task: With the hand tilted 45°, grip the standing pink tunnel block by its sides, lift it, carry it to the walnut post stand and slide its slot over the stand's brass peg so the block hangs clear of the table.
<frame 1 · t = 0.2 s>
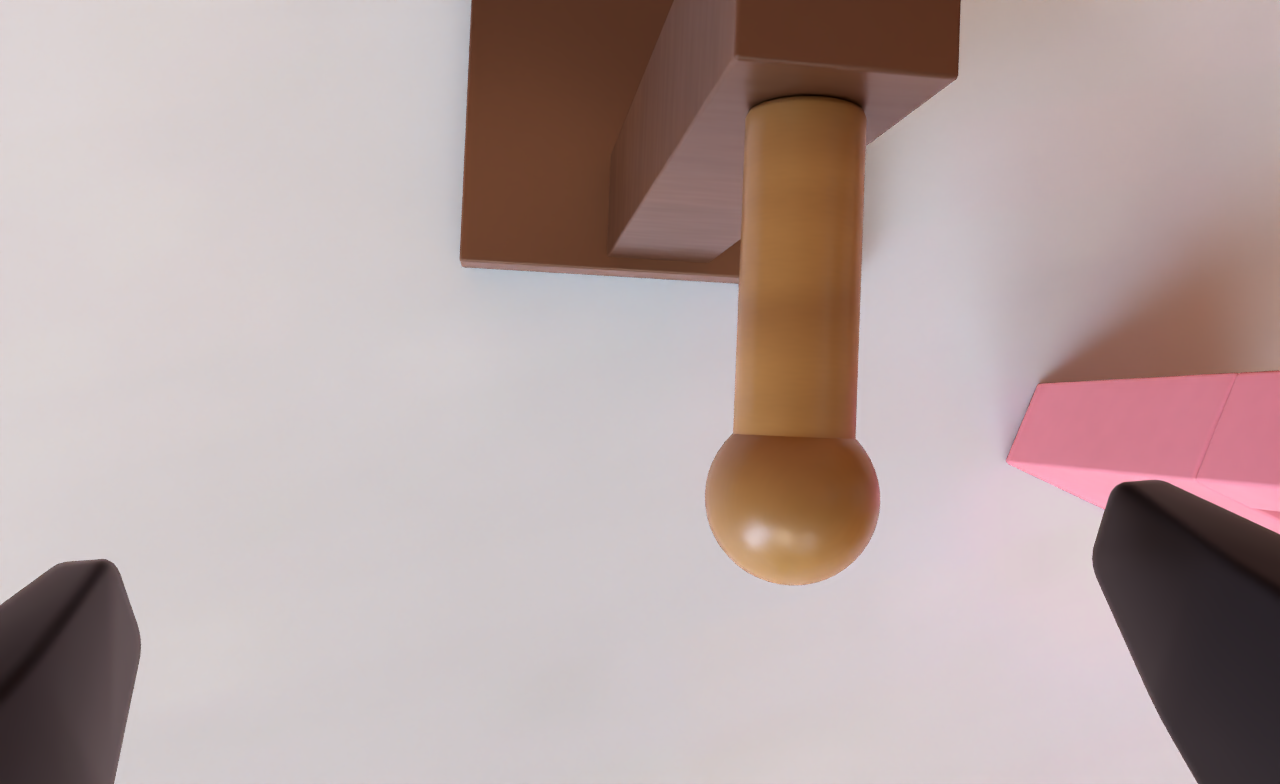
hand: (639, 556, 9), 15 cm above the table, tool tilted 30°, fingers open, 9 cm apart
pink tunnel block: (1128, 474, 26), on the table
stand: (654, 216, 24), on the table
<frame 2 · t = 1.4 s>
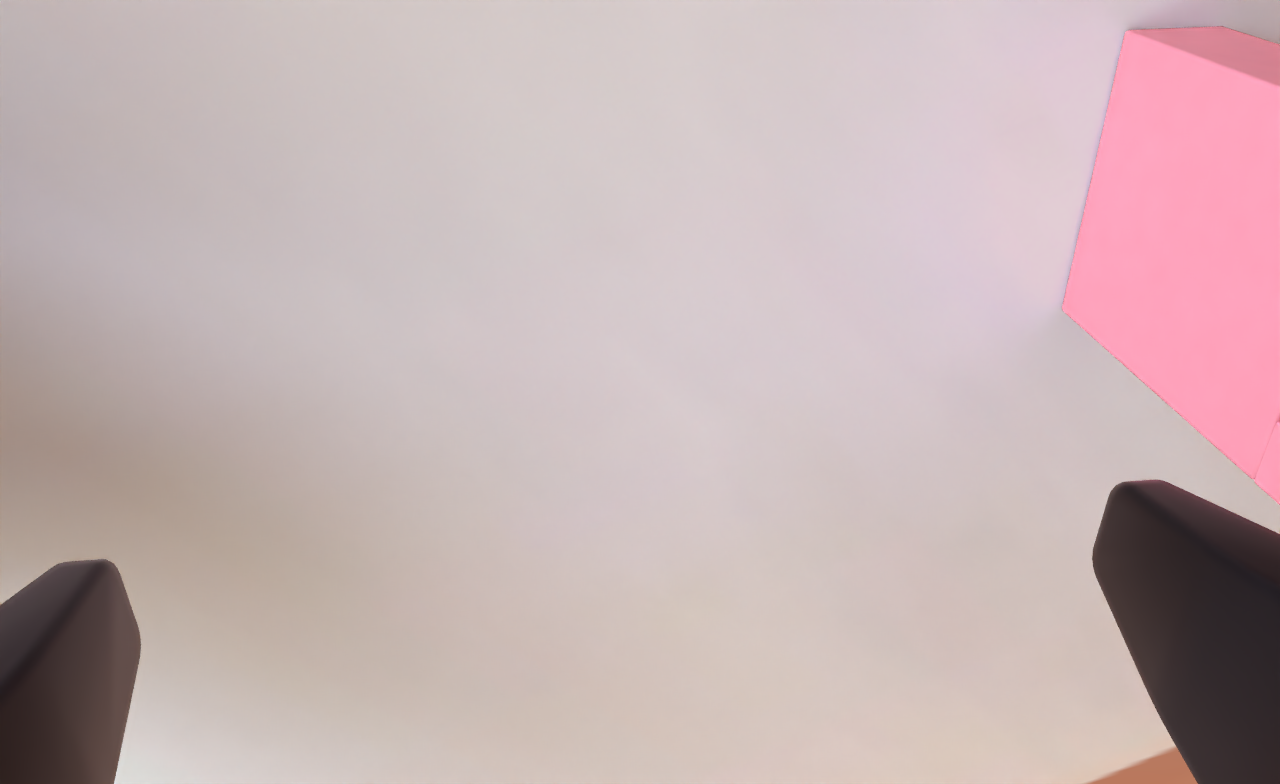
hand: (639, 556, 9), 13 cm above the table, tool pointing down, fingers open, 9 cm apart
pink tunnel block: (1136, 177, 23), on the table
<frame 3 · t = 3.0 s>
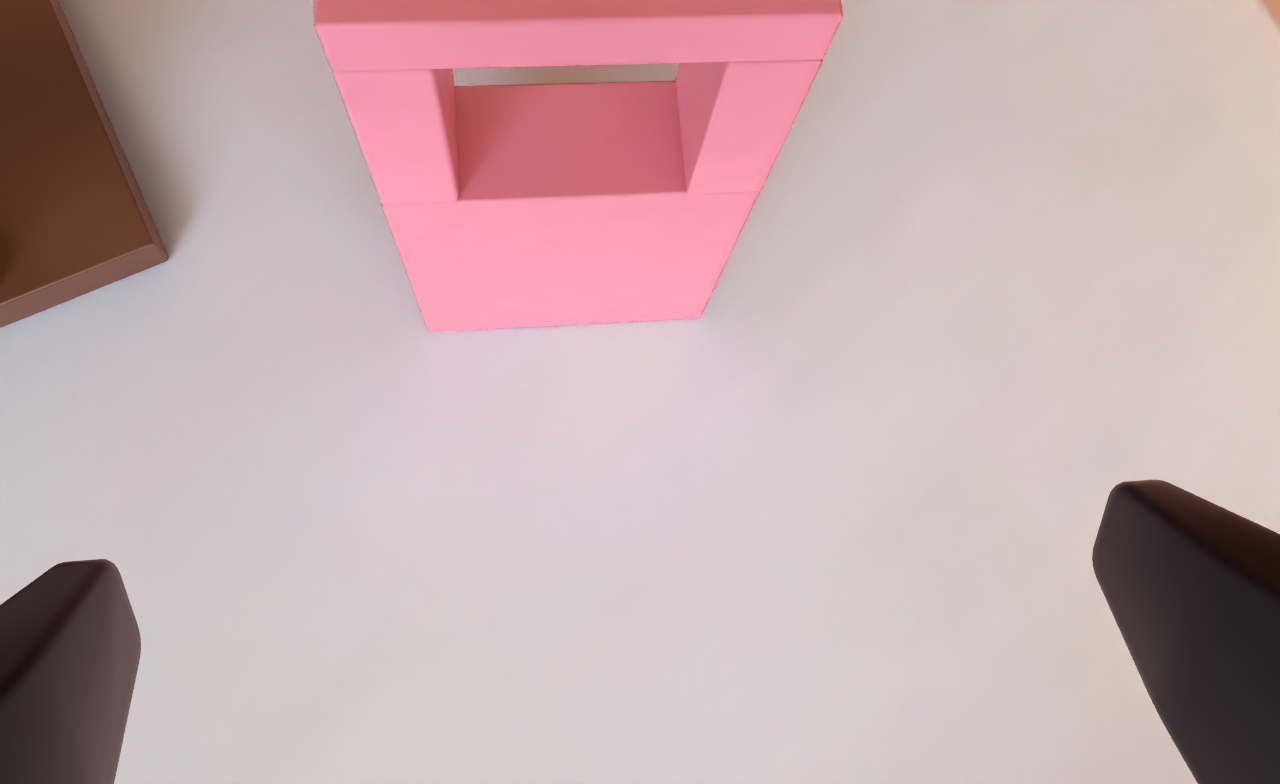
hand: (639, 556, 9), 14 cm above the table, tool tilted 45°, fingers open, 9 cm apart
pink tunnel block: (563, 281, 24), on the table
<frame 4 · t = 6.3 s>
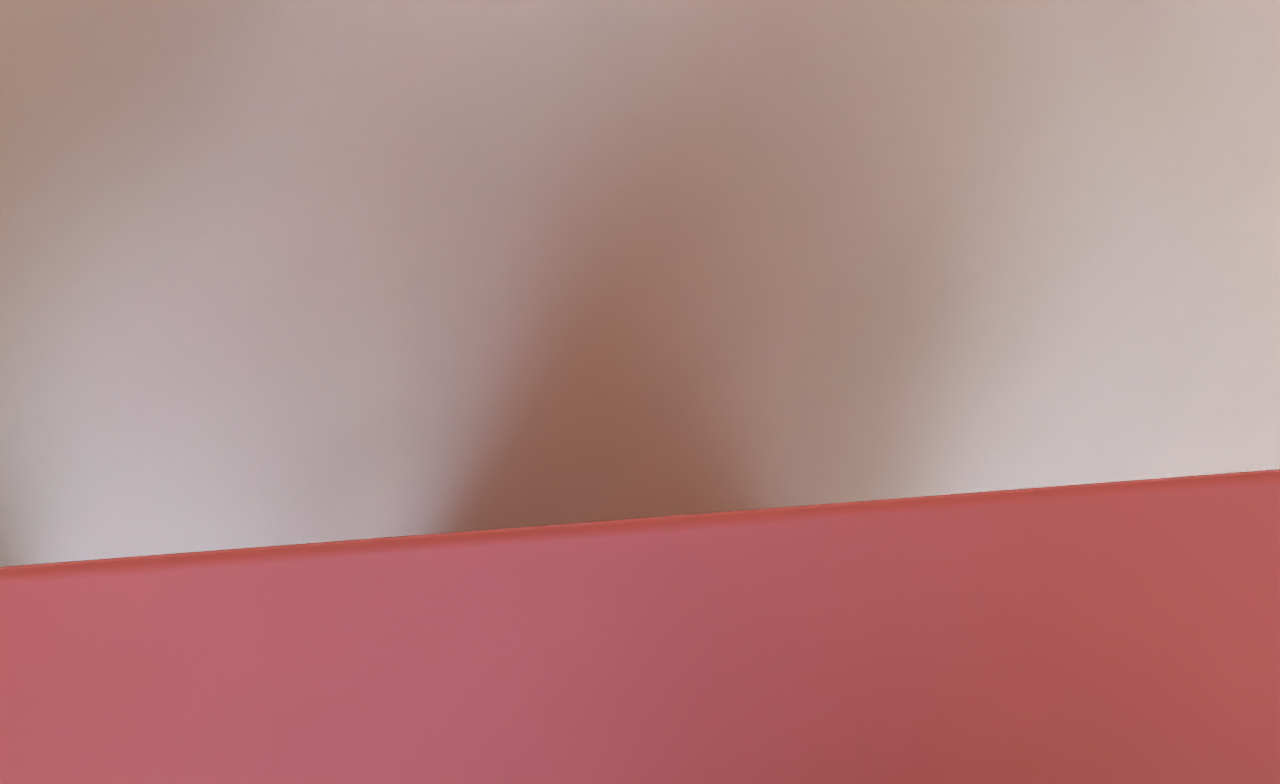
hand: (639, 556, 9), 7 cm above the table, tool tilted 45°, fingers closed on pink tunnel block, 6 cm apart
pink tunnel block: (606, 688, 15), on the table, touching gripper
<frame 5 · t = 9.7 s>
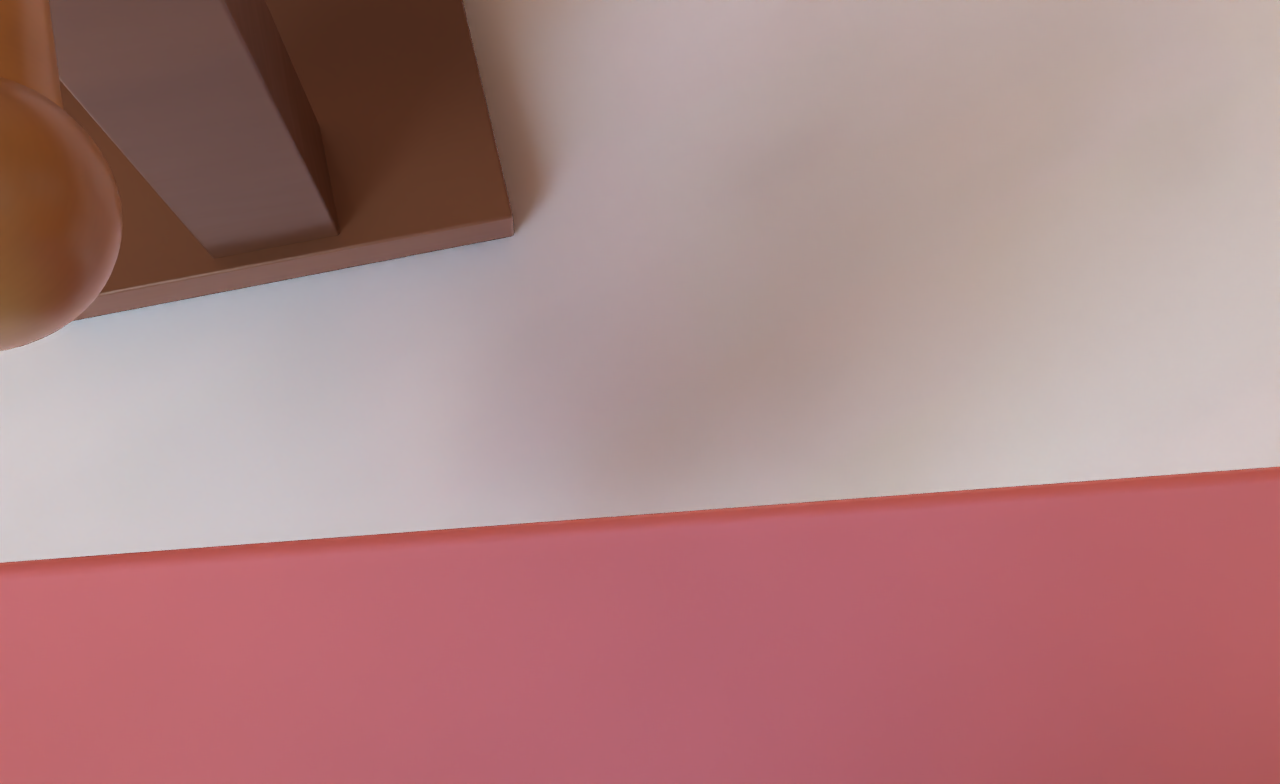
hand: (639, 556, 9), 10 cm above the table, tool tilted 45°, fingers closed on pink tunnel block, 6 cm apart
pink tunnel block: (607, 687, 15), point 4 cm above the table, touching gripper
stand: (279, 211, 20), on the table
when the fingers open (9 cm above the table, at t = 13.2 s): pink tunnel block stays where it is, resting on stand.
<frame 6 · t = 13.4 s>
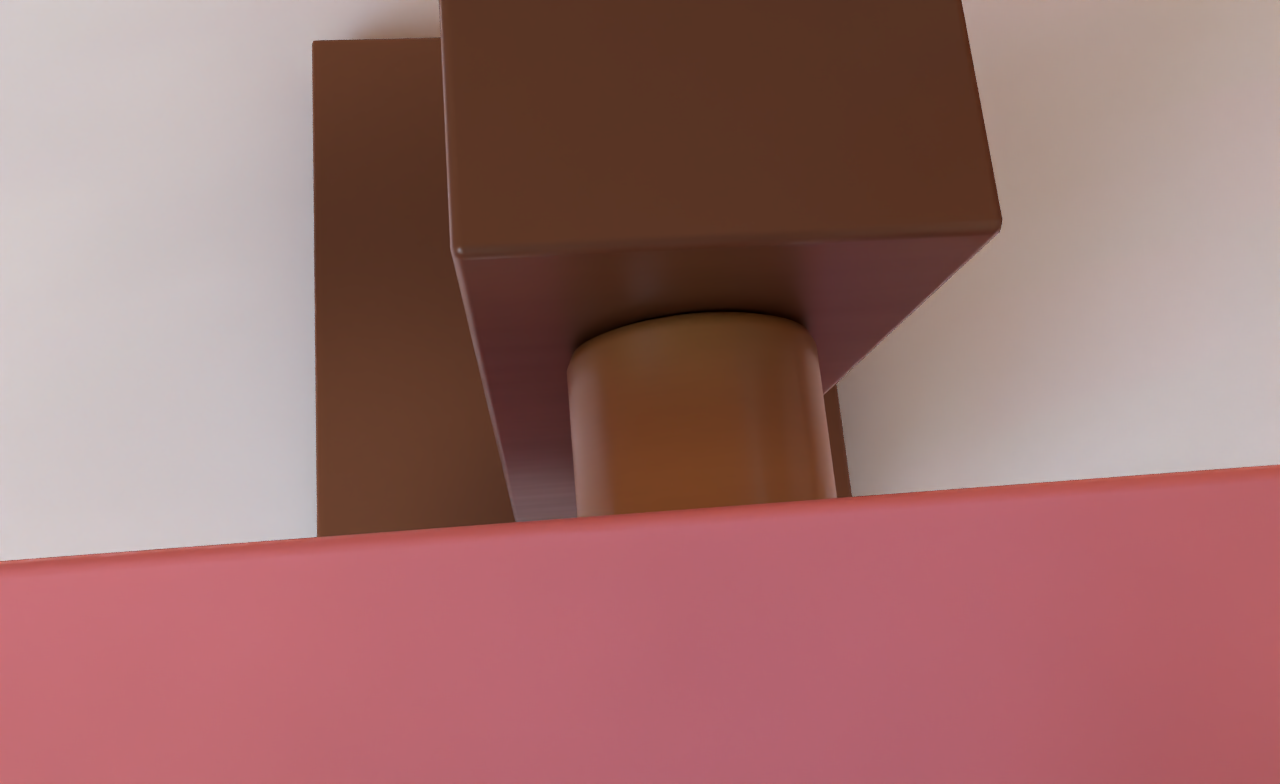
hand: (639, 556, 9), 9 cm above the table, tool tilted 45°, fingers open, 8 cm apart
pink tunnel block: (610, 688, 15), point 2 cm above the table, touching stand
stand: (587, 486, 18), on the table
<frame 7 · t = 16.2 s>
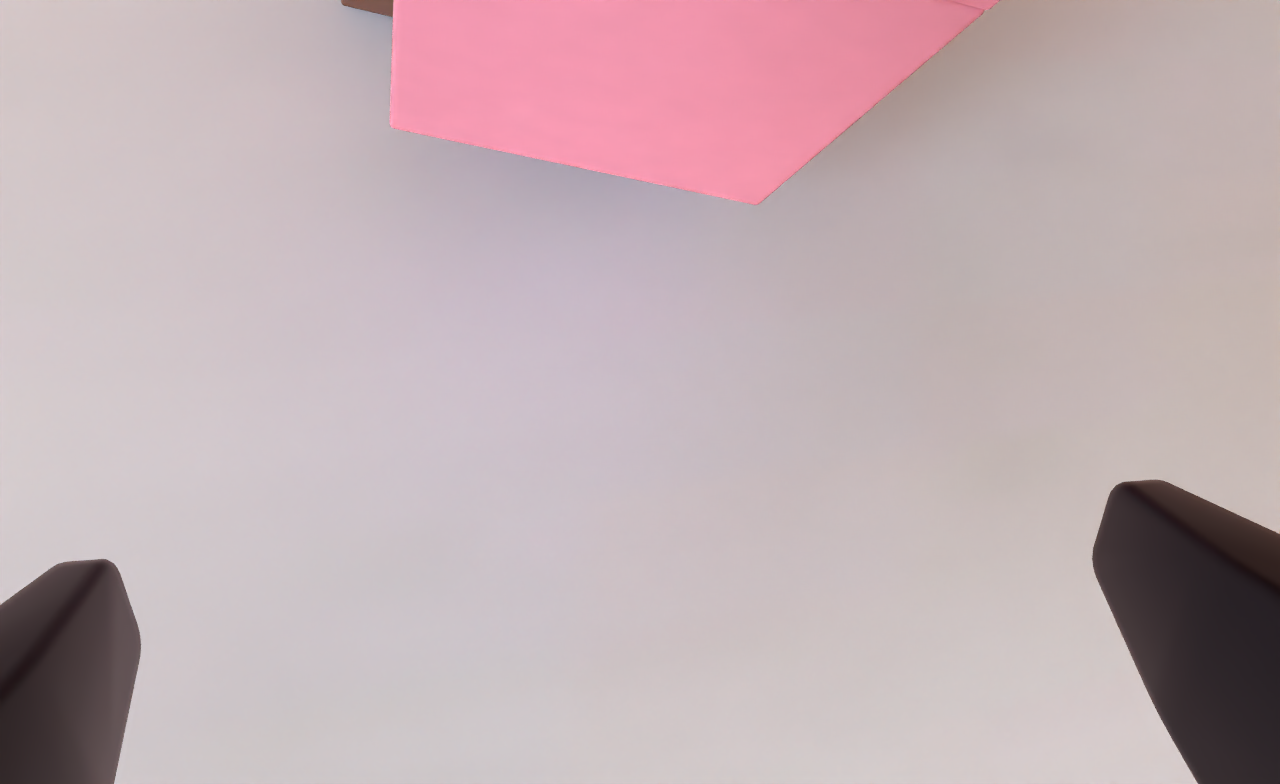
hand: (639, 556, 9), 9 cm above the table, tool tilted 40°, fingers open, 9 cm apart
pink tunnel block: (589, 109, 17), point 2 cm above the table, touching stand
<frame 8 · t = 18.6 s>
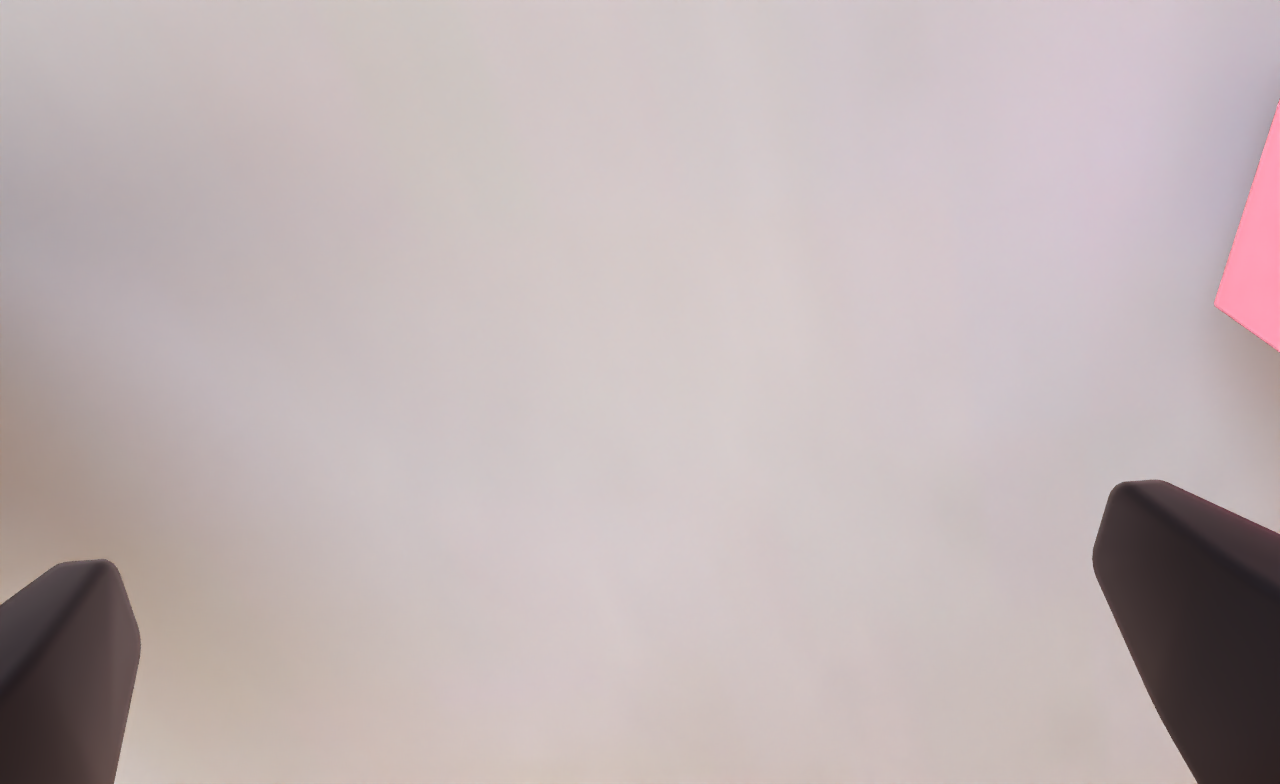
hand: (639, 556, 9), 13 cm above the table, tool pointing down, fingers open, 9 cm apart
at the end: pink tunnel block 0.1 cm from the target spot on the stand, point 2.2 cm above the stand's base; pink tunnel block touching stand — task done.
